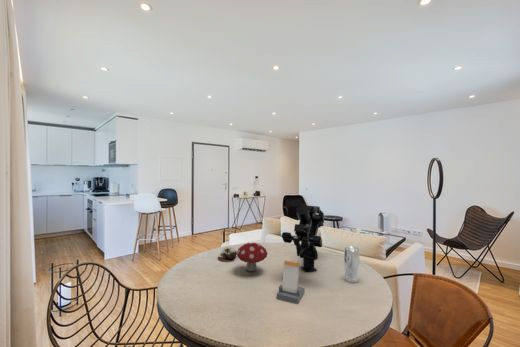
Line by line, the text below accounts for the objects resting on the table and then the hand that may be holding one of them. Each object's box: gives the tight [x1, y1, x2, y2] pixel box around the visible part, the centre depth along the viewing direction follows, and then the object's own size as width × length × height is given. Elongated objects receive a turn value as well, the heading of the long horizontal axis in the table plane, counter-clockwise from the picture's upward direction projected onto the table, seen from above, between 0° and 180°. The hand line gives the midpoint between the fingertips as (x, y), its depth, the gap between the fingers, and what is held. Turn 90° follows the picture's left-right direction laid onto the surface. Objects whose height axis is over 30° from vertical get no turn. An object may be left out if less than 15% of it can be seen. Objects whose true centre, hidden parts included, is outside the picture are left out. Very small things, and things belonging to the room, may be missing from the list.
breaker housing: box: [276, 284, 306, 305], centre depth 101 cm, size 10×9×4 cm
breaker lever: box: [281, 260, 300, 294], centre depth 100 cm, size 2×6×12 cm, turn 65°
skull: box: [217, 245, 238, 263], centre depth 144 cm, size 12×10×10 cm
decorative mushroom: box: [236, 242, 268, 272], centre depth 125 cm, size 16×16×15 cm
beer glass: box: [343, 246, 360, 284], centre depth 116 cm, size 7×7×15 cm
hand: (298, 255), depth 110 cm, fingers closed
